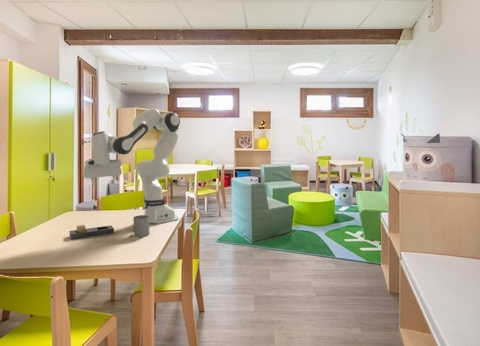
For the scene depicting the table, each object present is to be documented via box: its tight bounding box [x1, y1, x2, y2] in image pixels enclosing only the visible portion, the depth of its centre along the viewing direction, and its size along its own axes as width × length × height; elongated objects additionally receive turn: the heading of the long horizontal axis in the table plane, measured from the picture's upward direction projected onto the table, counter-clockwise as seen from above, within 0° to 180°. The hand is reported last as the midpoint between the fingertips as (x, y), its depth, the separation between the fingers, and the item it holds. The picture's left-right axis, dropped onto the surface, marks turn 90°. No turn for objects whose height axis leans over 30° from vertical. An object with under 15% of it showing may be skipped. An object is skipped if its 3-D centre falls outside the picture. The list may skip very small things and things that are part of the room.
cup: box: [132, 214, 151, 238], centre depth 189 cm, size 8×8×10 cm
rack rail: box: [68, 224, 115, 241], centre depth 189 cm, size 22×8×3 cm, turn 120°
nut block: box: [76, 224, 86, 233], centre depth 187 cm, size 4×4×6 cm
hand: (104, 184), depth 195 cm, fingers open, 8 cm apart
